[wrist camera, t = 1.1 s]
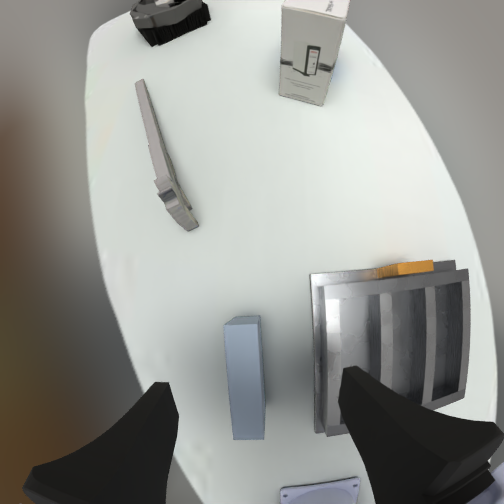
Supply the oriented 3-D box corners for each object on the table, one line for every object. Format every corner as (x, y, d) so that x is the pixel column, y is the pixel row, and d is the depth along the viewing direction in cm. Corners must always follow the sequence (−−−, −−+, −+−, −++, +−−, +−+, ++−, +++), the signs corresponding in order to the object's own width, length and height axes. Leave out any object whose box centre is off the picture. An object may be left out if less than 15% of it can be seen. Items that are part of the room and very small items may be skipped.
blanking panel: (265, 405, 21) (264, 439, 15) (241, 406, 21) (233, 439, 15) (260, 315, 22) (257, 323, 16) (235, 316, 22) (223, 325, 16)
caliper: (201, 227, 23) (178, 205, 17) (189, 233, 23) (163, 212, 17) (144, 81, 27) (125, 46, 20) (136, 85, 27) (116, 51, 20)
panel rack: (449, 396, 19) (474, 409, 15) (314, 430, 20) (323, 456, 15) (451, 260, 21) (480, 254, 17) (309, 274, 22) (320, 270, 18)
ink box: (295, 50, 26) (301, -29, 14) (336, 60, 25) (354, -17, 14) (276, 96, 25) (277, 3, 13) (324, 109, 24) (347, 18, 13)
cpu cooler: (184, -22, 24) (213, -8, 22) (191, 3, 29) (219, 23, 28) (121, 6, 23) (137, 25, 22) (133, 30, 29) (151, 54, 27)
